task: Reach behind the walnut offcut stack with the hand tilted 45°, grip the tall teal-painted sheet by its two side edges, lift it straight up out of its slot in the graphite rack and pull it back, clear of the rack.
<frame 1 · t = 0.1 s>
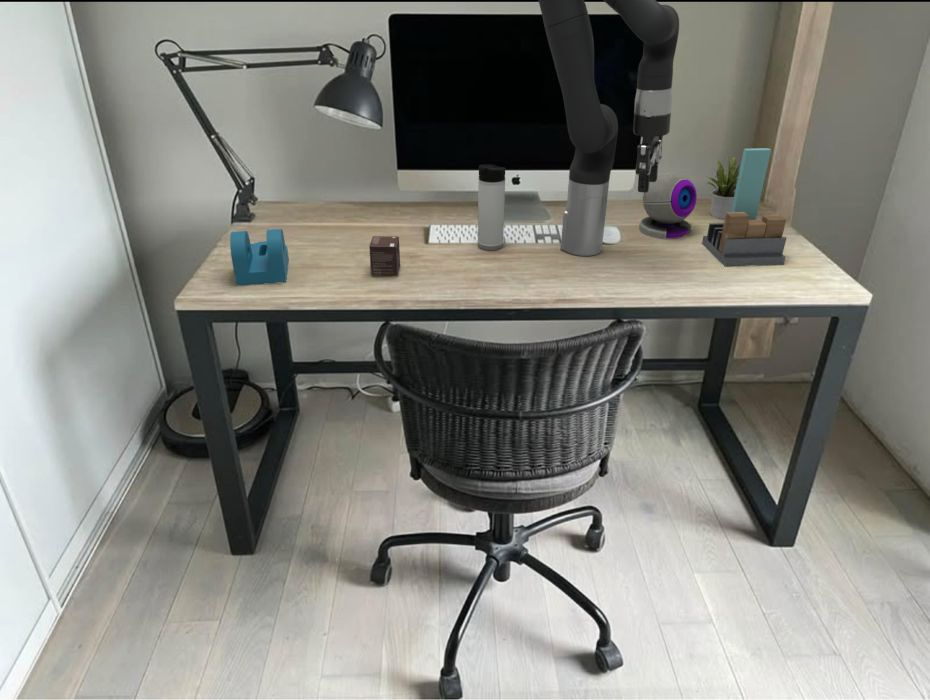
hand: (647, 186, 153), 17 cm above the table, tool pointing down, fingers open, 8 cm apart
house plant: (726, 216, 187), on the table
rack: (741, 253, 164), on the table
box: (386, 272, 155), on the table
webcam: (663, 230, 178), on the table
tall sheet: (737, 241, 166), point 2 cm above the table, touching rack
camera mount: (264, 268, 157), on the table
travel mug: (489, 246, 168), on the table
offcut stack: (748, 250, 161), point 2 cm above the table, touching rack
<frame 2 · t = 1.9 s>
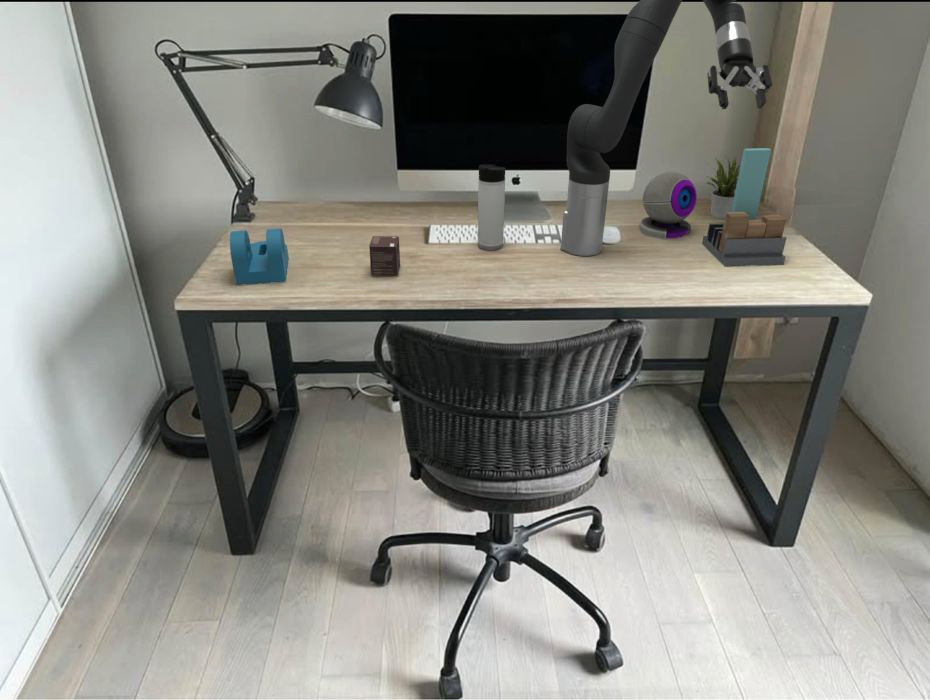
hand: (743, 107, 161), 31 cm above the table, tool tilted 45°, fingers open, 8 cm apart
nothing on the table moved.
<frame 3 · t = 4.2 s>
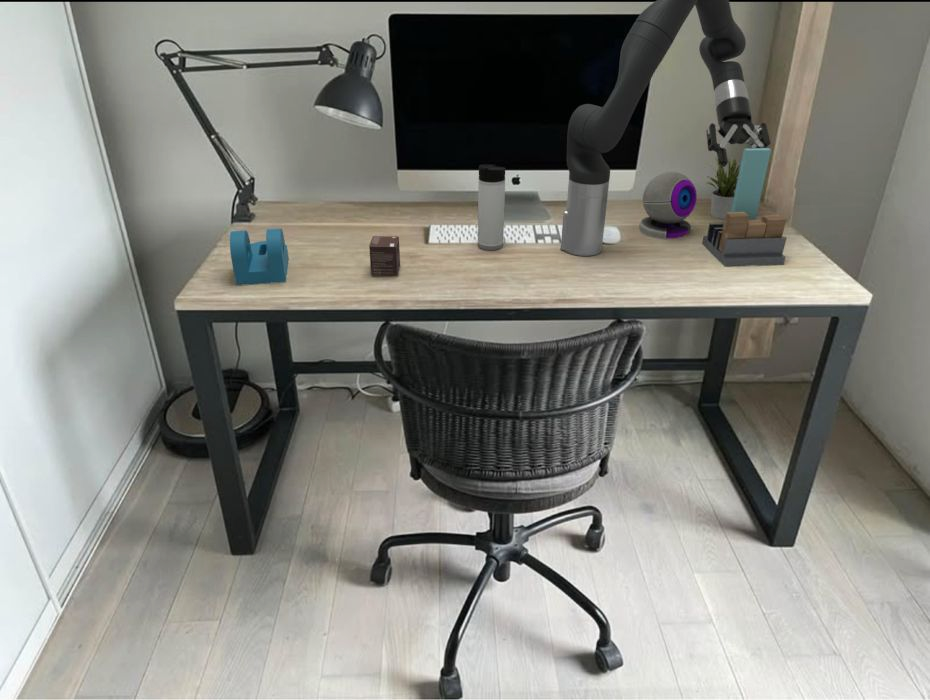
hand: (742, 164, 162), 19 cm above the table, tool tilted 45°, fingers open, 8 cm apart
nothing on the table moved.
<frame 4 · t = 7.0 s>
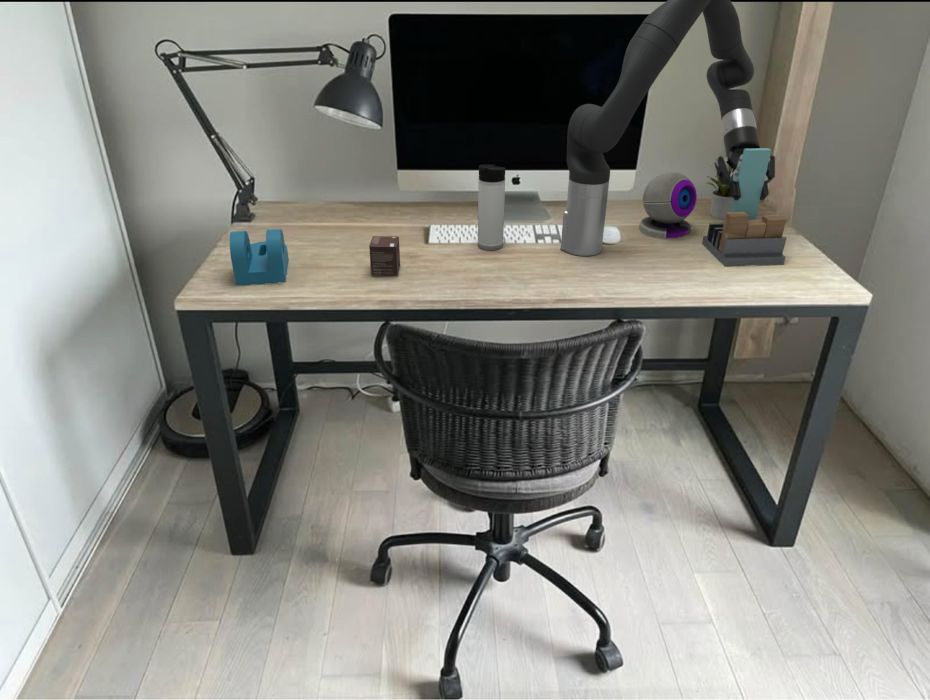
hand: (750, 198, 159), 13 cm above the table, tool tilted 45°, fingers closed on tall sheet, 5 cm apart
tall sheet: (737, 241, 166), point 2 cm above the table, touching gripper, rack
everything else where it was.
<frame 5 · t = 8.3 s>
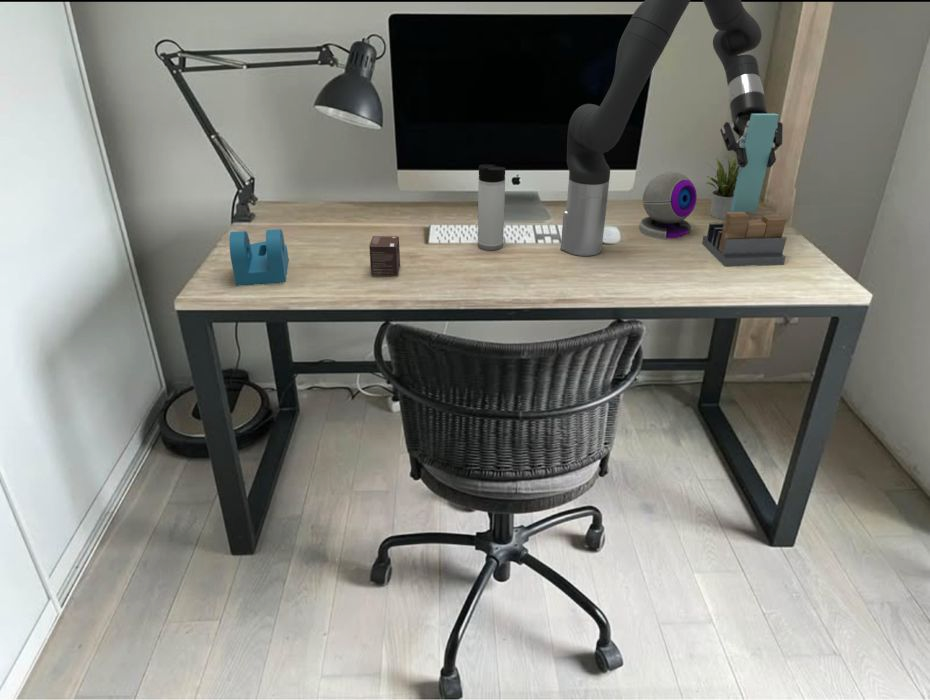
hand: (757, 165, 155), 21 cm above the table, tool tilted 45°, fingers closed on tall sheet, 5 cm apart
tall sheet: (743, 210, 162), point 10 cm above the table, touching gripper
everything else where it was.
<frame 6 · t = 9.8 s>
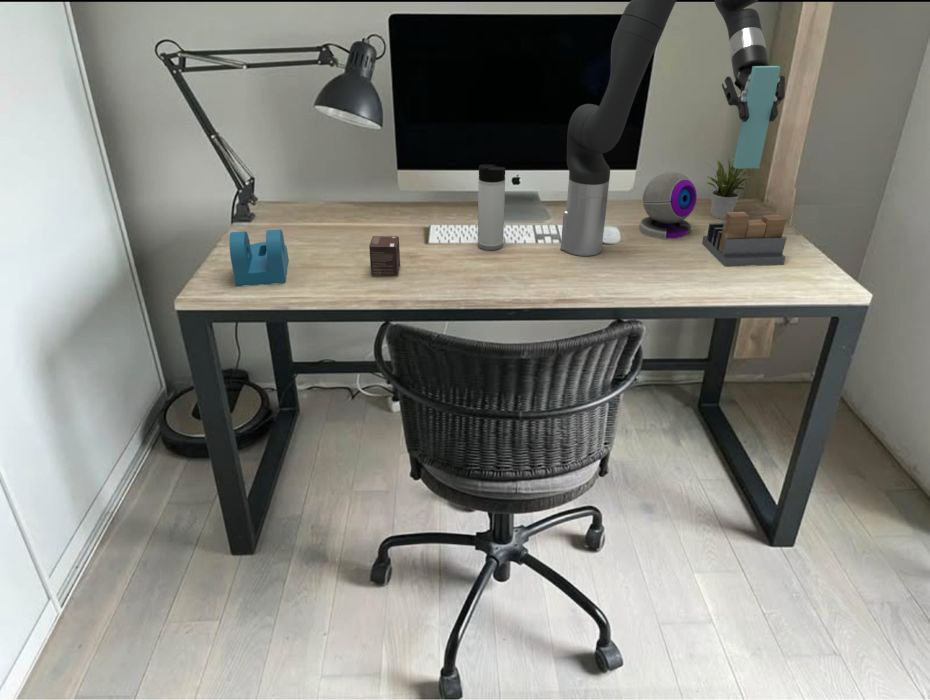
hand: (759, 119, 153), 30 cm above the table, tool tilted 45°, fingers closed on tall sheet, 5 cm apart
tall sheet: (745, 167, 161), point 19 cm above the table, touching gripper
everything else where it was.
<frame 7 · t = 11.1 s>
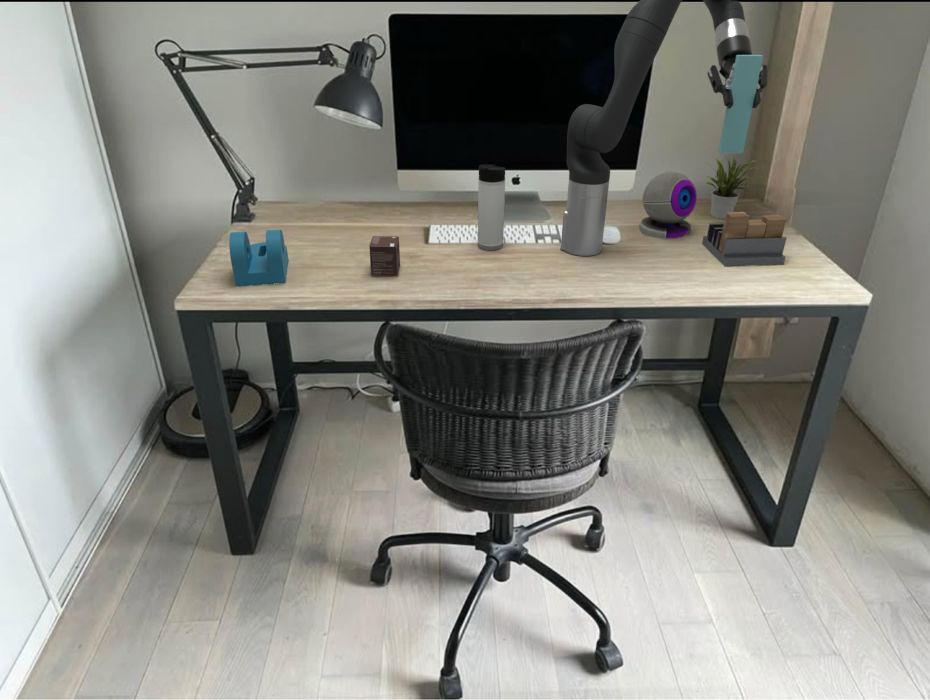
hand: (743, 106, 161), 31 cm above the table, tool tilted 45°, fingers closed on tall sheet, 5 cm apart
tall sheet: (730, 152, 168), point 20 cm above the table, touching gripper
everything else where it was.
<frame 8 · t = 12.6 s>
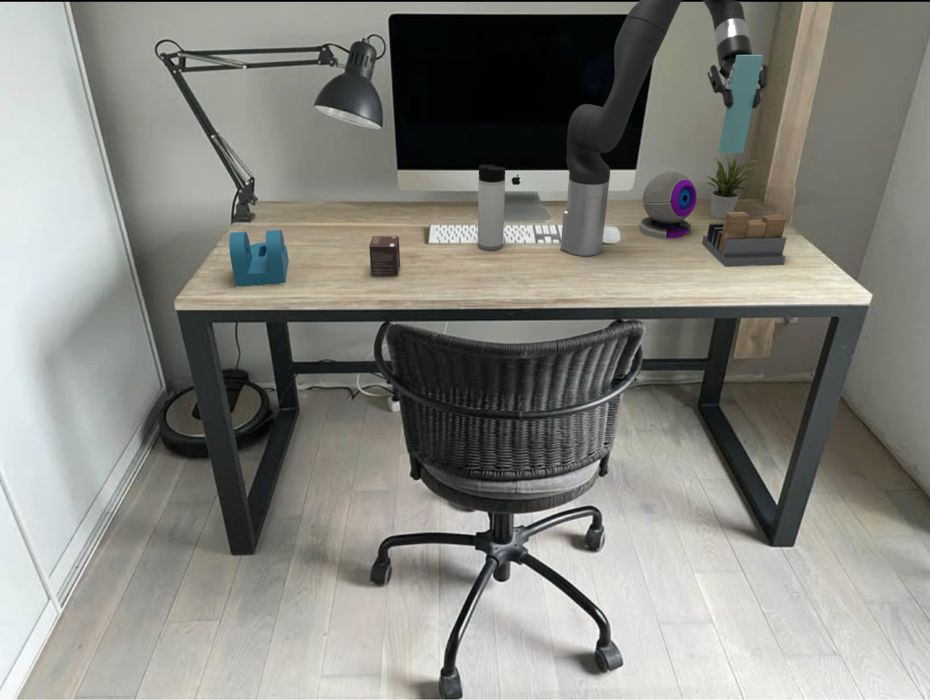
hand: (743, 106, 161), 31 cm above the table, tool tilted 45°, fingers closed on tall sheet, 5 cm apart
tall sheet: (730, 152, 168), point 20 cm above the table, touching gripper
everything else where it was.
at the end: tall sheet point 19.9 cm above the table; the gripper is holding tall sheet; offcut stack moved 0.0 cm from its start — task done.
